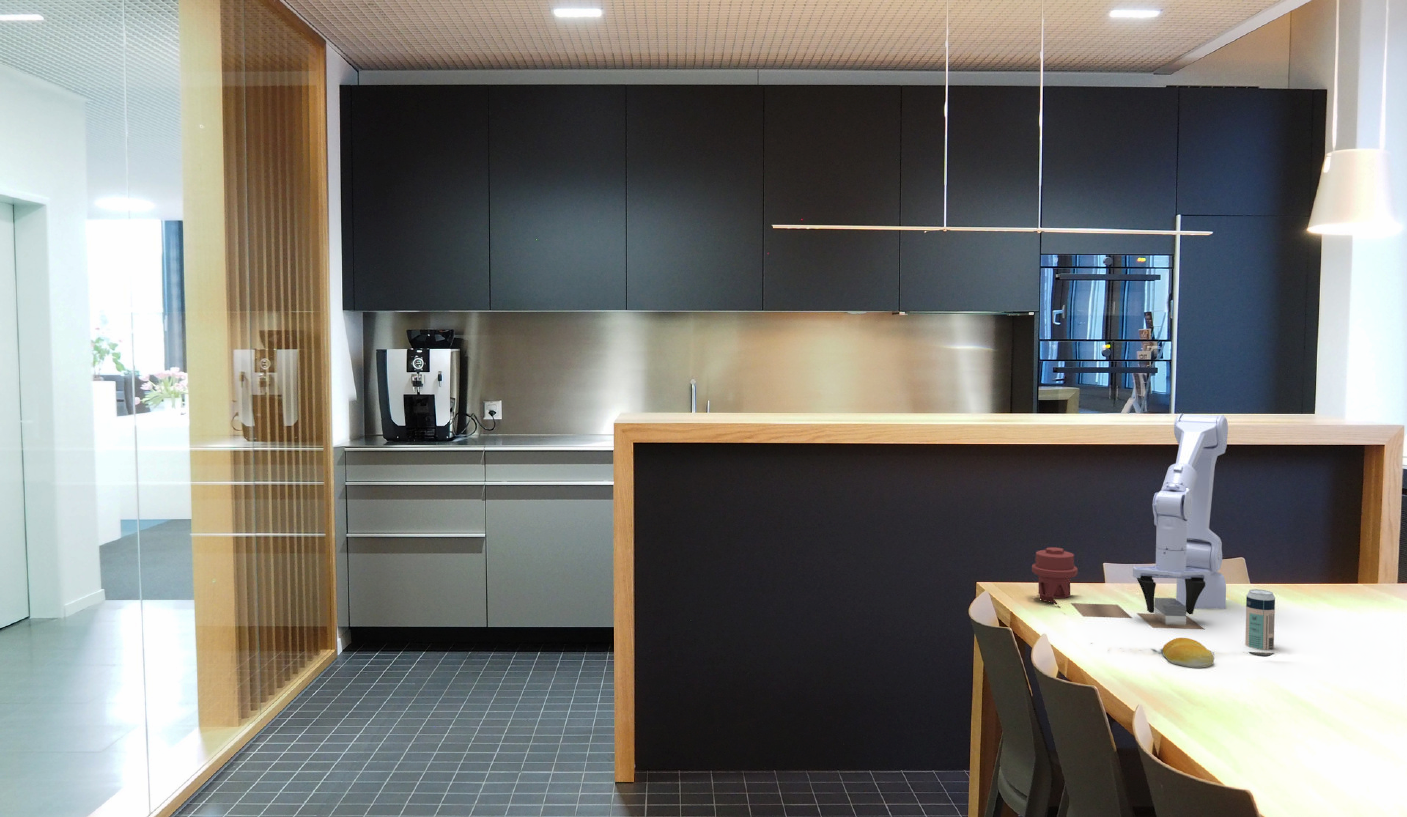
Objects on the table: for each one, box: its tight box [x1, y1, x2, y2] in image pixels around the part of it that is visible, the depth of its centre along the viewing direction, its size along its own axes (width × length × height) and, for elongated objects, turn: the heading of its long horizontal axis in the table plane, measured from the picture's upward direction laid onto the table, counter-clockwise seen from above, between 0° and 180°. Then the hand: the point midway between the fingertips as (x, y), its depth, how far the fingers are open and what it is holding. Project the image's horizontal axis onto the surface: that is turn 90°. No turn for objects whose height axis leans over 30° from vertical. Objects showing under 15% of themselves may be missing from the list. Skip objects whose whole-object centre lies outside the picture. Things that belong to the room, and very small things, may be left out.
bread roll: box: [1162, 637, 1215, 669], centre depth 176 cm, size 8×9×4 cm
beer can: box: [1244, 588, 1276, 658], centre depth 179 cm, size 5×5×12 cm
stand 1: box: [1070, 602, 1133, 619], centre depth 206 cm, size 10×11×2 cm
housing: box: [1153, 597, 1187, 626], centre depth 197 cm, size 4×7×4 cm, turn 171°
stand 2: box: [1136, 612, 1206, 630], centre depth 197 cm, size 10×11×2 cm
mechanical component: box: [1031, 546, 1079, 605], centre depth 219 cm, size 12×10×10 cm
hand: (1169, 612), depth 197 cm, fingers open, 7 cm apart
